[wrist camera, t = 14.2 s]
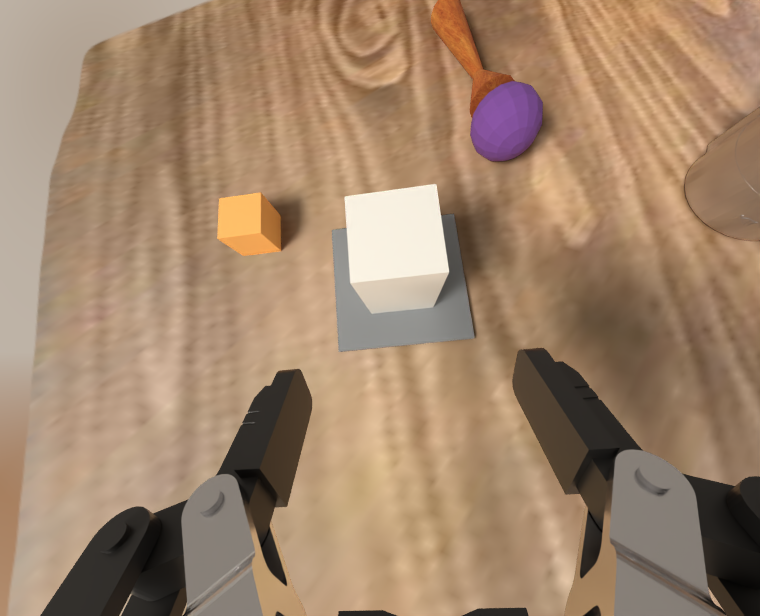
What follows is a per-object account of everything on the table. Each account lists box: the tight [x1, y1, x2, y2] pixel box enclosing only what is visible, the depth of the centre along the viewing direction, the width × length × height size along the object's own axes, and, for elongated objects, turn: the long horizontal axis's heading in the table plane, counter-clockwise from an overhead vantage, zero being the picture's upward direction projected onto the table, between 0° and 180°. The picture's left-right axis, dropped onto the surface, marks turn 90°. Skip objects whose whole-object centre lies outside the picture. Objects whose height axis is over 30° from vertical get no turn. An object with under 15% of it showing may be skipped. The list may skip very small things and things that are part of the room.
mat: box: [332, 214, 475, 352], centre depth 25 cm, size 12×12×1 cm
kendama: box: [431, 0, 543, 161], centre depth 27 cm, size 6×6×20 cm
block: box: [217, 193, 281, 256], centre depth 26 cm, size 4×4×4 cm
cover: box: [345, 184, 449, 314], centre depth 20 cm, size 6×6×10 cm
